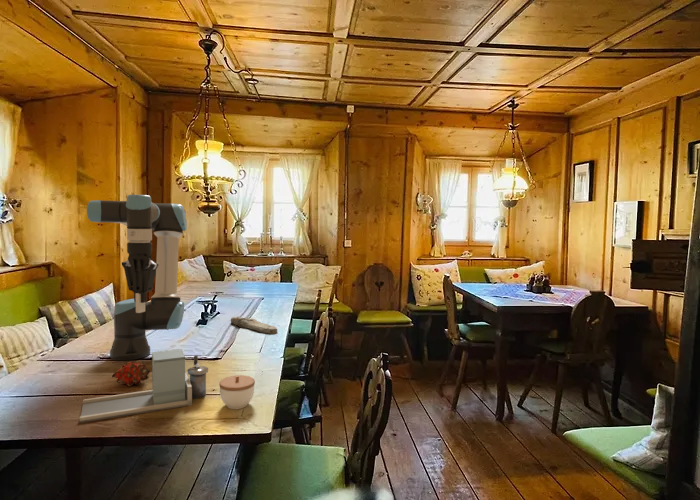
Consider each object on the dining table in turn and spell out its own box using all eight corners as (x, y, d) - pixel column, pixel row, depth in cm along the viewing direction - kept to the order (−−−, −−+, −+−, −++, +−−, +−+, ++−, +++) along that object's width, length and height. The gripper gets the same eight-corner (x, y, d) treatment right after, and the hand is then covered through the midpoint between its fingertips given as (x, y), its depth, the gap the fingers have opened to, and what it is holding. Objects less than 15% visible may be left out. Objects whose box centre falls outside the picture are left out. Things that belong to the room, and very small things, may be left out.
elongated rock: (267, 338, 224) (282, 336, 231) (267, 328, 223) (283, 325, 231) (224, 323, 246) (239, 320, 253) (225, 313, 245) (240, 311, 253)
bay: (79, 423, 128) (79, 402, 127) (83, 404, 140) (83, 385, 140) (191, 405, 141) (191, 386, 141) (186, 389, 154) (186, 372, 153)
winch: (189, 400, 145) (188, 364, 144) (185, 390, 152) (185, 356, 152) (209, 397, 148) (209, 362, 147) (205, 388, 155) (205, 354, 154)
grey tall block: (154, 405, 139) (153, 360, 138) (152, 394, 147) (152, 351, 146) (185, 400, 143) (185, 357, 142) (181, 389, 151) (181, 348, 150)
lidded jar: (223, 398, 147) (223, 370, 146) (256, 398, 148) (256, 370, 147) (216, 412, 137) (216, 382, 136) (252, 412, 137) (252, 382, 137)
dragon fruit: (152, 388, 158) (115, 395, 156) (153, 367, 164) (118, 374, 162) (146, 374, 153) (107, 381, 150) (147, 353, 159) (110, 360, 156)
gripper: (114, 241, 148) (116, 312, 150) (148, 243, 144) (148, 316, 146) (131, 240, 155) (132, 308, 157) (163, 241, 151) (164, 311, 153)
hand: (140, 311), depth 152 cm, fingers closed
